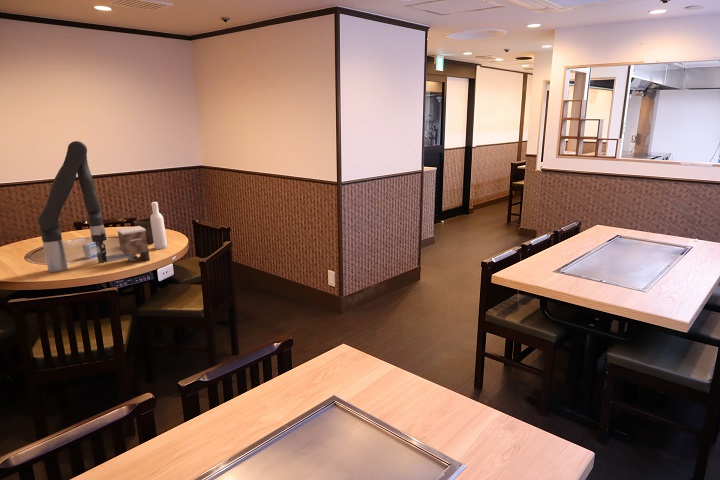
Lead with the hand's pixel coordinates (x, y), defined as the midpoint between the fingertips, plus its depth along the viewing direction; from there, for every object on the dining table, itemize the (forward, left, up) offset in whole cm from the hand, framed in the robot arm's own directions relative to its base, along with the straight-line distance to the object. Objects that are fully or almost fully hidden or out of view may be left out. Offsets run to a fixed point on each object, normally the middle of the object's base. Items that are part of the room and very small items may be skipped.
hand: (103, 259), depth 276 cm
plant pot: (+33, +28, -2) cm, 44 cm away
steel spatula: (+8, 0, -2) cm, 8 cm away
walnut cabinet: (+15, -10, -2) cm, 19 cm away
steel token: (+14, -7, -2) cm, 16 cm away
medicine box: (-3, +19, -2) cm, 19 cm away
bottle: (+35, +9, -2) cm, 37 cm away
